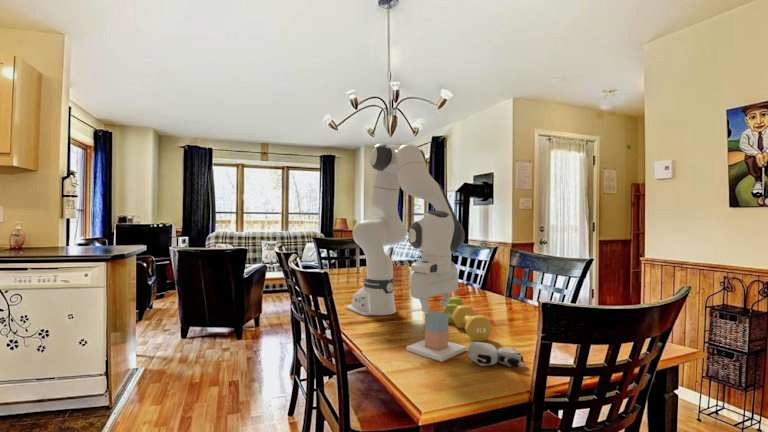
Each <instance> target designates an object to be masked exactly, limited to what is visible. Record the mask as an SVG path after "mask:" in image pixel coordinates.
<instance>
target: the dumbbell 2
mask: <svg viewBox="0 0 768 432" xmlns="http://www.w3.org/2000/svg"><path fill="white" fill-rule="evenodd" d="M452 319H453V321H454V323H455V324H454V325H455V326H456V327H457V328H458V329H464V330H465V332H466V334H467V336H468V338H469V339H470V341H473V342H482V343H483V342H486V341H488V340H489V338H490V336H491V334H492V332H493V327H492V324H491V322H490V320H489V319H488V318H487V317H486V316H485V315H477V314H476V313H475V311H474V309H473V308H472V307H471V305H467V304H464V305H460V306H457V307H456V309H455V310H454V312H453V314H452Z"/></svg>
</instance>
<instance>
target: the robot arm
mask: <svg viewBox="0 0 768 432" xmlns="http://www.w3.org/2000/svg"><path fill="white" fill-rule="evenodd" d="M370 165H371V166H372V169H373V170H376V171H375V175H374V179H373V186H372V193H371V201H370V202H371V203H370V204H371V206H372V208H373V209H375V211H377V213H378V219H365V220H362V221H358V222H356V223H355V224H354V226H353V228H352V239H353V240H354V242H355V243H356V244H357V245H358V246H359V247H360V248H361V250H362V251H363V254H364V256H365V260H366V278H363V279H362V281H361V282H362V283H363V286H362V287H361V288H360V289H358V290H357V291H356V292H355V293H354V294H353V296H352V299H351V304H348V305H347V306H346V309H347V310H350V311H353V312H355V313H357V314H360V315H361V316H388V315H392V314H395V313H396V312H397V309H396V304H395V295H394V287H395V278H393V277H394V261H393V258H391V256H389V255H388V254H386V252H385V249H384V246H393V245H394V246H395V245H397V244H400V243H403V242H404V241H405V240H406V237H407V235H408V243H409V244H410V245H411V246H412V248H413V249H416V250H420V251H422V253H421V254H422V255H421V257H420V258H419V259H417V261H415V262H413V263H411V266H410V269H411V271H412V274H411V277H410V295H411V297H412V298H413V299H417V300H419V302H420V304H421V311H422V313H429V312H431V311H430V310H431V309H430V308H431V306H430V305H429V304H428V301H429V298H431V297H436V296H439V295H442V298H441V300H440V306H441V307H442V308H445V307H446V306H448V300H449V299H450V298H451V293H452V292H456V291H457V290H458V287H459V274H458V270H457V265H456V264H455V263H454V262H453V261H452V252H456V251H457V250H458V249H459V248H460V247H461V246H463V244H464V242H465V238H466V235H465V234H466V233H465V230H464V227H463V225H462V224H461V223H460V221H459V220H458V218H457V216H456V214H455V212H454V210H453V208H452V206H451V203H450V201H449V199H448V196H447V195H446V193H445V191H444V189H443V186H442V185H441V184H440V183H438V182H437V181H436V180H435V179H434V178H433V177H432V175H431V174H430V172H429V170H428V168H427V163H426V155H425V153H424V151H423V150H422V149H420V148H419V147H418V146H417V145H415V144H411V143H409V144H408V143H407V144H404V145H403V144H386V143H377V144H376V145H374V146H373V148H372V150H371V152H370ZM400 189H401V190H402V191H403V192H405V194H407V195H409V196H411V197H414V198H418V199H421V200H423V201H426V202H428V203H429V204H431V206H433V208H434V209H435V210H428V211H426V212H425V213H424V216H423V217H422V218H421V219H419V220H417V221H416V220H415V221H414V222H412V224H411V225H410V226H409V228H408V230H407V227H406V225H405V223H404V222H403V221H402V220H401V217H400V215H399V210H398V209H399V208H398V205H399V195H400ZM407 231H408V233H407Z"/></svg>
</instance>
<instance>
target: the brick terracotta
mask: <svg viewBox="0 0 768 432" xmlns="http://www.w3.org/2000/svg"><path fill="white" fill-rule="evenodd" d="M424 340H425V346H426V347H429V348H432V349H436V350H440V349H443V348H445V347H447V346H448V342H449V329H448V330H447V331H444V332H441V333H439V334H438V333H435V332H431V331H427V330H425V329H424Z"/></svg>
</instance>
